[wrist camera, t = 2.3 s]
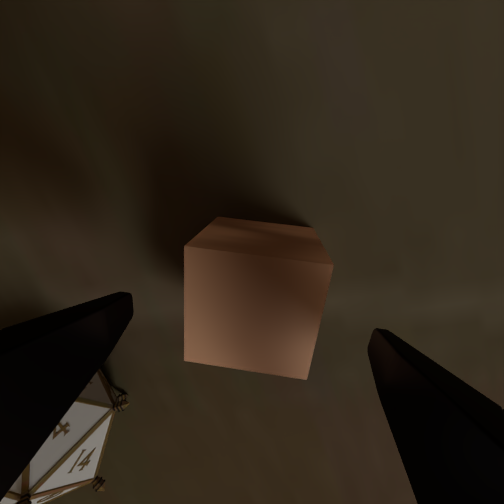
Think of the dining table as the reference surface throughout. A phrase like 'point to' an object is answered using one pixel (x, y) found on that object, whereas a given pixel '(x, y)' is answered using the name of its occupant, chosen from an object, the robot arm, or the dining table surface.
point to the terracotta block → (254, 296)
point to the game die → (71, 448)
